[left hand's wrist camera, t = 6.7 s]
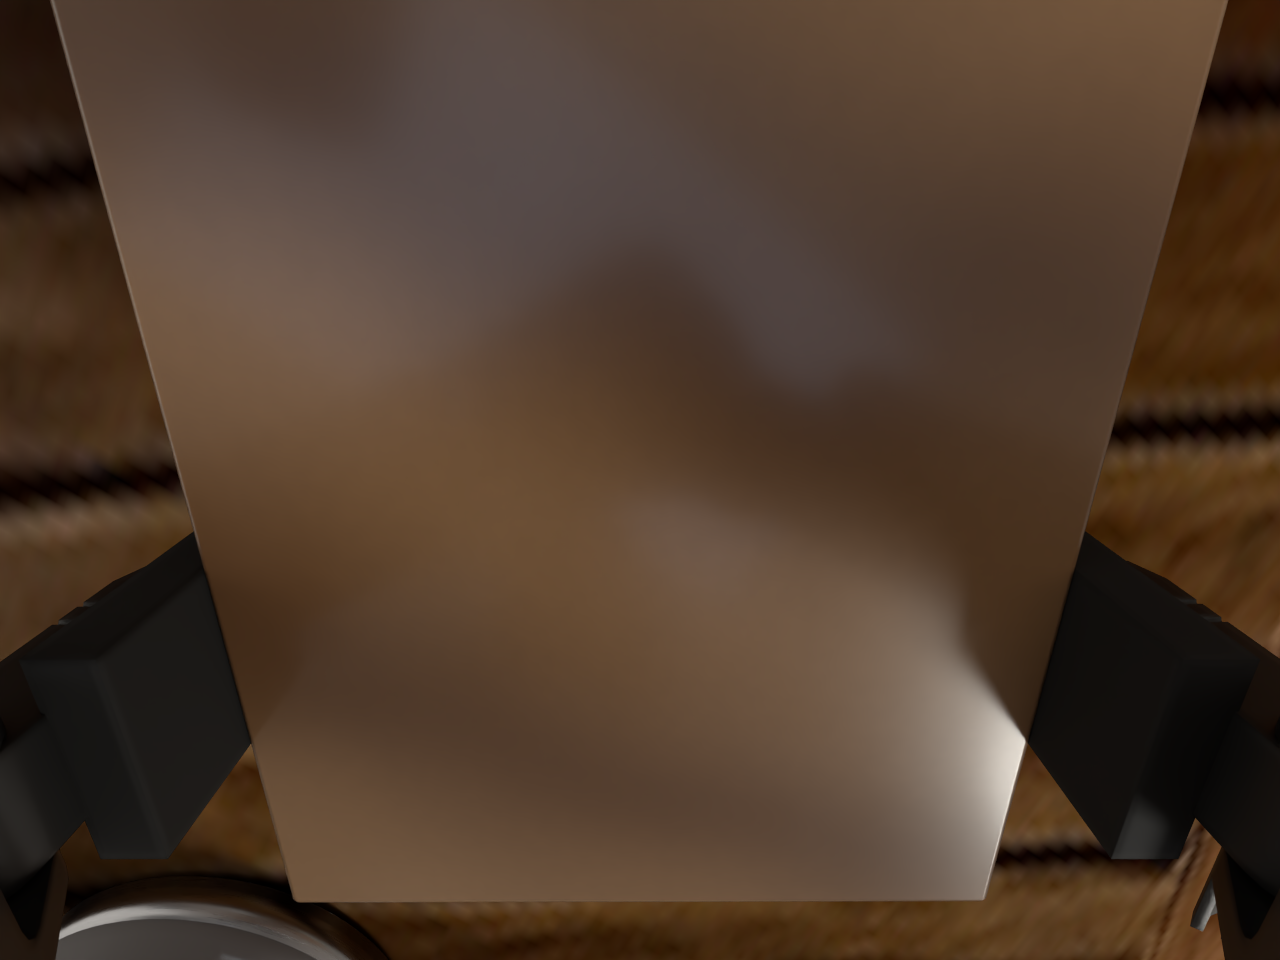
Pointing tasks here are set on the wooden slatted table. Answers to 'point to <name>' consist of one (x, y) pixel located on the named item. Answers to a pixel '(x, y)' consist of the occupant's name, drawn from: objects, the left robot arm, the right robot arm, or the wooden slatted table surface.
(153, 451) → the wooden slatted table surface
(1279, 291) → the wooden slatted table surface
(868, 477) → the cabinet
